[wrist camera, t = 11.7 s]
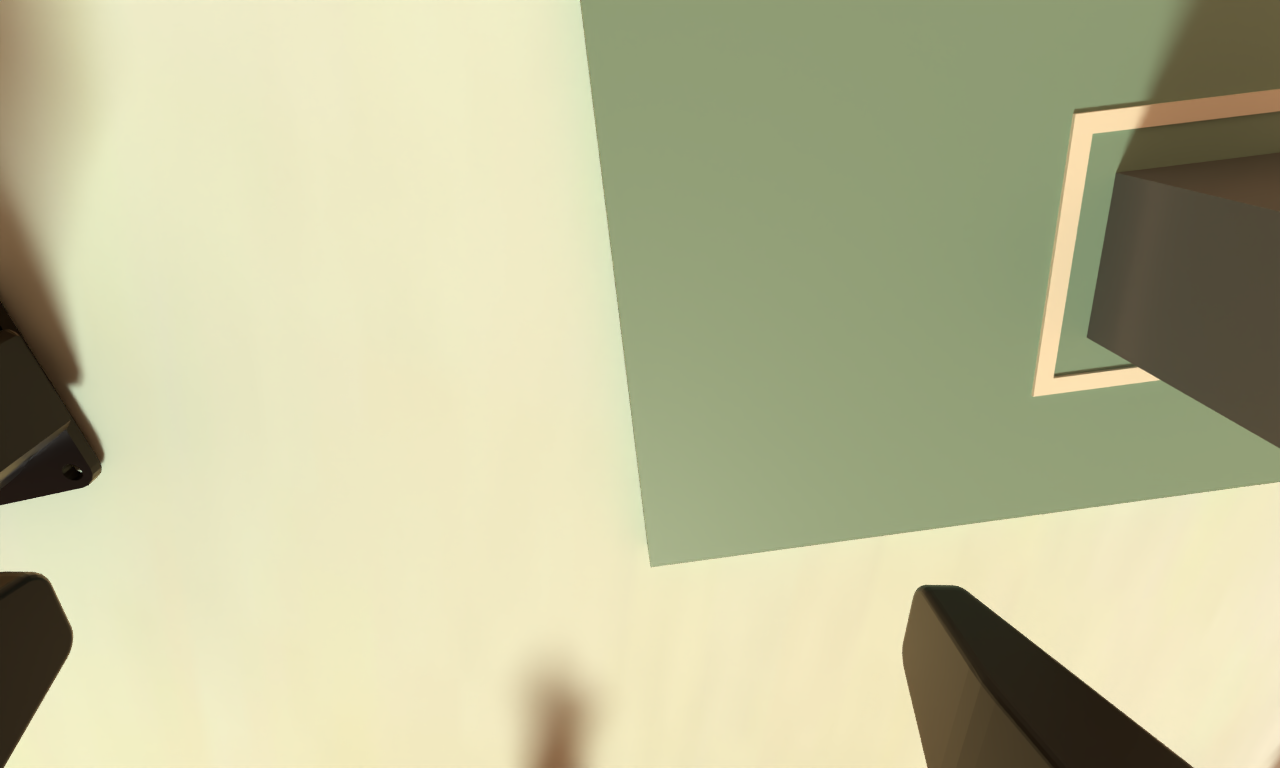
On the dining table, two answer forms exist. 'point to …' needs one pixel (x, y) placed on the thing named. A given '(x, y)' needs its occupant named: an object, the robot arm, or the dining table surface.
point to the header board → (902, 255)
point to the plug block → (1198, 283)
